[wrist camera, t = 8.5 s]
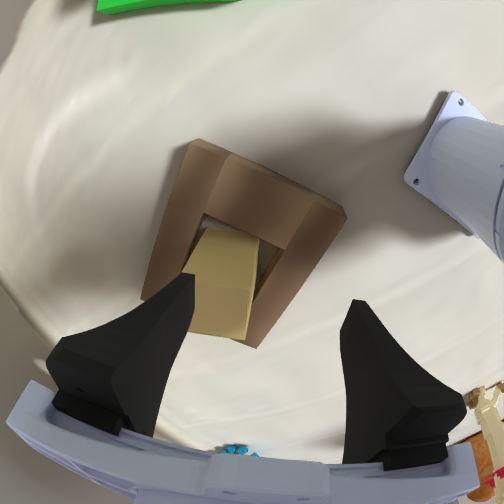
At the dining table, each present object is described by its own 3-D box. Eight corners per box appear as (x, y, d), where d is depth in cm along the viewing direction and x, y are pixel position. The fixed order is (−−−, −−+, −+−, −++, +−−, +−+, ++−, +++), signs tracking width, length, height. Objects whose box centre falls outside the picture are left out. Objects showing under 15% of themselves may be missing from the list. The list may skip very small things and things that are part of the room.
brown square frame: (342, 207, 20) (347, 218, 18) (258, 333, 27) (256, 348, 25) (198, 138, 19) (189, 143, 17) (148, 285, 26) (140, 299, 24)
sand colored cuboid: (260, 232, 22) (248, 289, 16) (256, 276, 24) (245, 340, 18) (207, 226, 22) (176, 280, 16) (207, 271, 24) (183, 330, 18)
